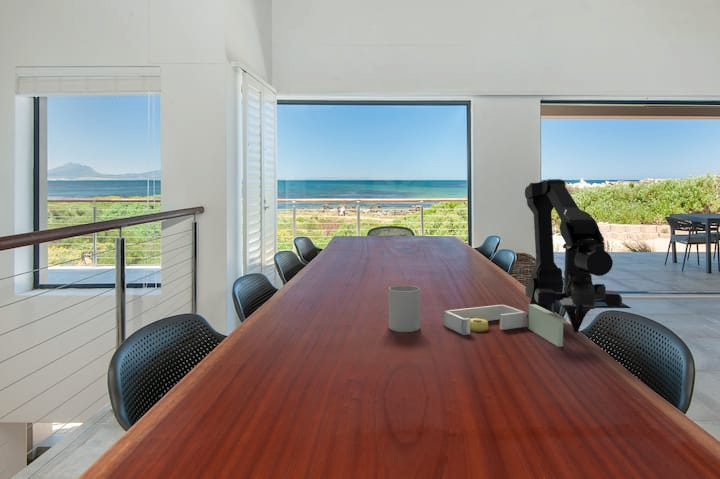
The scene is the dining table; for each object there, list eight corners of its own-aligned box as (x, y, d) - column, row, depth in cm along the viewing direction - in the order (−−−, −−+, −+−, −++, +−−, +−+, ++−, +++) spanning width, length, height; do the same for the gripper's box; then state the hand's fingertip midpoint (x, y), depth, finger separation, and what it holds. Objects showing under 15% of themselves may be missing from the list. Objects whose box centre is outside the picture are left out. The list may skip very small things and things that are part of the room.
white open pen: (504, 317, 135) (504, 295, 135) (532, 328, 124) (532, 304, 124) (443, 325, 128) (443, 302, 127) (467, 336, 117) (467, 311, 116)
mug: (415, 333, 120) (415, 292, 119) (384, 330, 123) (384, 290, 122) (426, 322, 131) (426, 284, 130) (397, 319, 134) (397, 282, 133)
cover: (528, 328, 124) (529, 304, 123) (535, 328, 124) (535, 304, 123) (557, 346, 109) (558, 319, 108) (565, 346, 109) (565, 319, 108)
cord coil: (480, 324, 128) (480, 317, 128) (492, 330, 123) (492, 322, 123) (462, 326, 126) (462, 319, 126) (474, 332, 121) (474, 324, 121)
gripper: (543, 273, 106) (541, 339, 107) (632, 275, 102) (629, 344, 104) (534, 266, 117) (533, 326, 118) (615, 267, 113) (612, 329, 115)
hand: (575, 331), depth 113 cm, fingers closed
